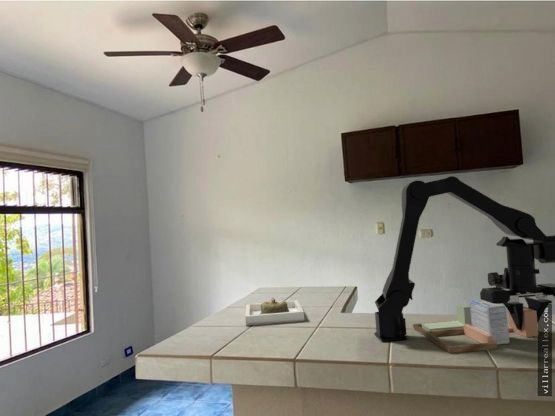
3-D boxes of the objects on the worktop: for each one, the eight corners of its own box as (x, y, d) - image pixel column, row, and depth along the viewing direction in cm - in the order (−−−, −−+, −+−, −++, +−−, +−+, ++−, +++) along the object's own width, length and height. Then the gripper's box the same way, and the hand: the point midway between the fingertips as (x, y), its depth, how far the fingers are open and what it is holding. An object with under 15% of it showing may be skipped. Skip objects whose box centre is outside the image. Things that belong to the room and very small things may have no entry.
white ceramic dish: (245, 325, 121) (245, 316, 121) (246, 312, 139) (246, 304, 139) (304, 320, 122) (303, 311, 122) (297, 308, 140) (297, 300, 140)
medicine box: (510, 344, 90) (506, 305, 90) (491, 345, 89) (488, 307, 90) (489, 334, 98) (486, 298, 98) (472, 335, 97) (469, 300, 98)
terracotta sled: (488, 347, 89) (486, 320, 89) (464, 334, 99) (462, 310, 99) (551, 341, 90) (549, 314, 90) (521, 329, 100) (519, 305, 100)
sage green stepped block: (430, 334, 100) (428, 311, 100) (422, 329, 105) (420, 306, 105) (478, 330, 101) (476, 307, 101) (467, 325, 106) (465, 302, 106)
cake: (287, 318, 126) (285, 302, 126) (256, 319, 128) (254, 303, 128) (291, 308, 136) (290, 293, 135) (263, 310, 138) (261, 294, 137)
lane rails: (449, 353, 87) (449, 347, 87) (413, 328, 106) (412, 324, 106) (497, 348, 87) (496, 343, 87) (452, 325, 107) (451, 320, 107)
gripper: (534, 258, 105) (539, 318, 104) (466, 263, 104) (470, 323, 103) (567, 263, 94) (573, 329, 93) (491, 268, 93) (496, 335, 92)
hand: (526, 329), depth 96 cm, fingers closed on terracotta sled, 3 cm apart
